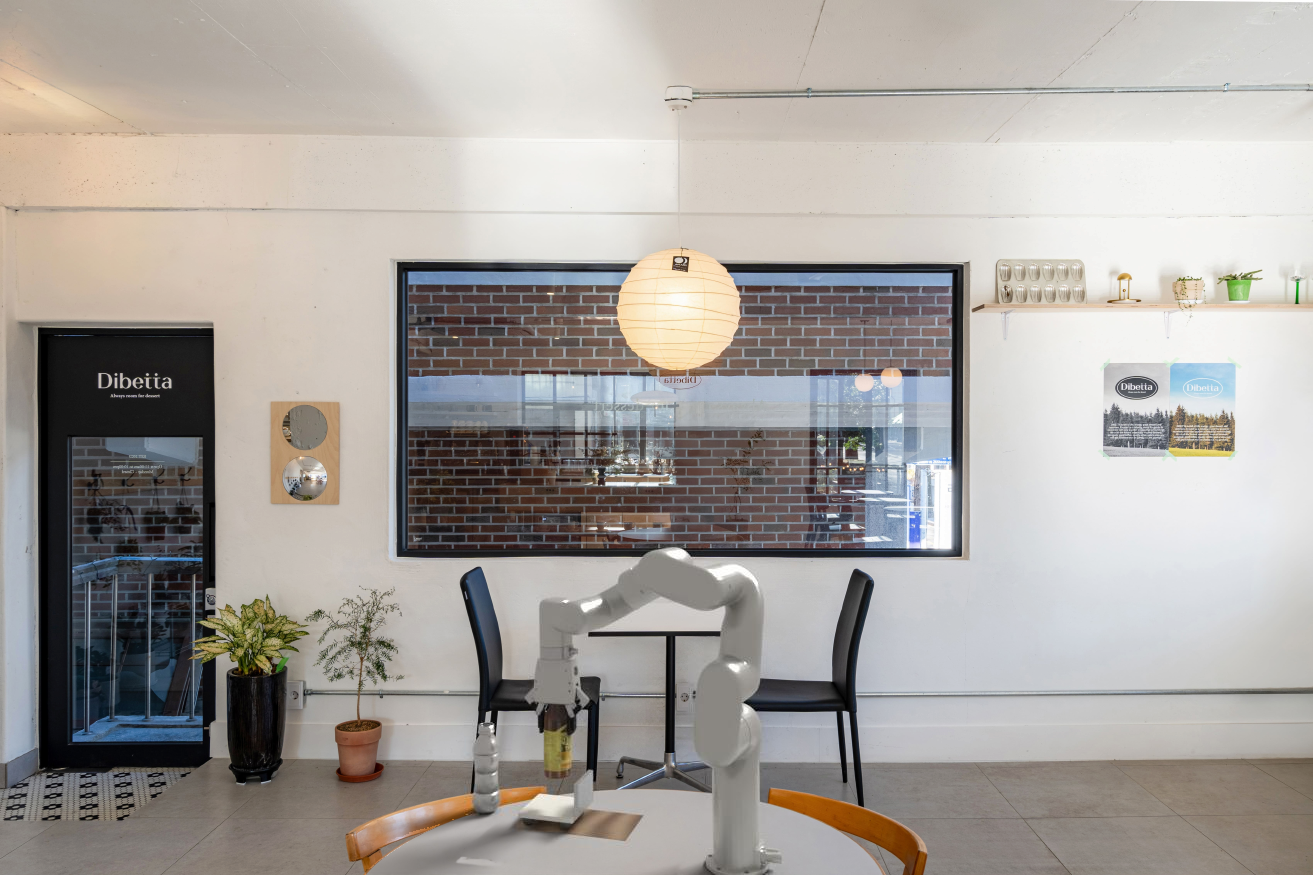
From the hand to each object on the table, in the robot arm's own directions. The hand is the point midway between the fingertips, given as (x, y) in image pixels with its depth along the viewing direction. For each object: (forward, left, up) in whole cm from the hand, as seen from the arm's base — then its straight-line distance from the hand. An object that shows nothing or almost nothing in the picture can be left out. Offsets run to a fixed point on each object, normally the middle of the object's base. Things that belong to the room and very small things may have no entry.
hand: (557, 731), depth 180 cm
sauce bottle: (0, 0, -10) cm, 10 cm away
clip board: (-5, 0, -20) cm, 21 cm away
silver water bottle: (+19, -2, -21) cm, 28 cm away
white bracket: (+1, 0, -19) cm, 19 cm away
